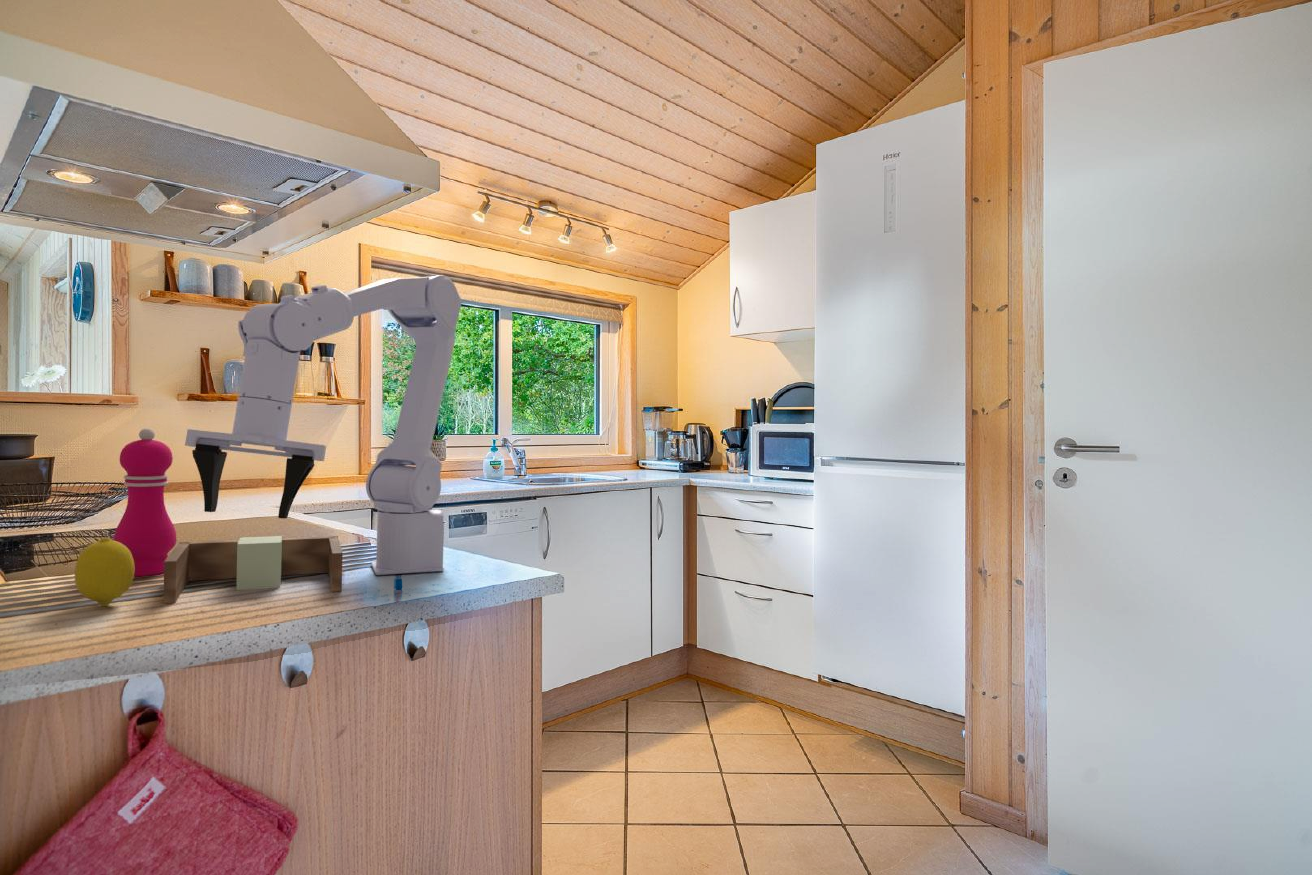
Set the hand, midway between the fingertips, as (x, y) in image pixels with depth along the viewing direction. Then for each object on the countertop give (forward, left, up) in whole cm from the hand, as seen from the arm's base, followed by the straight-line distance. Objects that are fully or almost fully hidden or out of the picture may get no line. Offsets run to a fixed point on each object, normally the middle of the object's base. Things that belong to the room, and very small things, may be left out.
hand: (246, 515), depth 84 cm
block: (-1, -12, -11) cm, 16 cm away
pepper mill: (+14, -24, -11) cm, 29 cm away
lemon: (+15, -6, -11) cm, 19 cm away
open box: (-1, -11, -11) cm, 15 cm away
